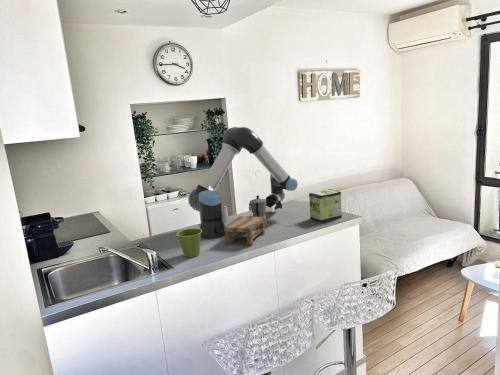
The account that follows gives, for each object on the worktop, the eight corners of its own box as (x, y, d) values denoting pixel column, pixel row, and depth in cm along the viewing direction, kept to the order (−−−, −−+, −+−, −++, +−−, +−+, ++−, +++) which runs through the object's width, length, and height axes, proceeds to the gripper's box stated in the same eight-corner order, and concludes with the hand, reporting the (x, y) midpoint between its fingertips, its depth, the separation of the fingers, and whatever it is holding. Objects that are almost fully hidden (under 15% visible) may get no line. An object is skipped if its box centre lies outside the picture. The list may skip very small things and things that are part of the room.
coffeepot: (252, 223, 222) (250, 193, 218) (268, 222, 221) (266, 192, 217) (250, 231, 207) (247, 199, 203) (267, 231, 206) (265, 198, 202)
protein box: (309, 219, 222) (308, 193, 219) (330, 214, 229) (329, 188, 226) (321, 222, 213) (319, 195, 210) (342, 217, 220) (341, 191, 217)
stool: (225, 244, 189) (223, 227, 187) (241, 232, 207) (239, 216, 205) (251, 246, 184) (250, 228, 182) (265, 233, 202) (264, 216, 200)
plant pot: (180, 251, 184) (177, 229, 182) (204, 249, 185) (202, 227, 182) (177, 261, 172) (174, 237, 170) (203, 258, 173) (201, 234, 171)
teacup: (220, 224, 225) (219, 211, 223) (207, 222, 232) (205, 209, 230) (235, 218, 236) (234, 205, 234) (222, 216, 242) (221, 204, 241)
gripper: (292, 206, 228) (282, 216, 209) (254, 205, 238) (240, 215, 218) (292, 194, 227) (281, 203, 208) (253, 194, 236) (239, 202, 217)
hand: (260, 209), depth 213 cm, fingers open, 13 cm apart
